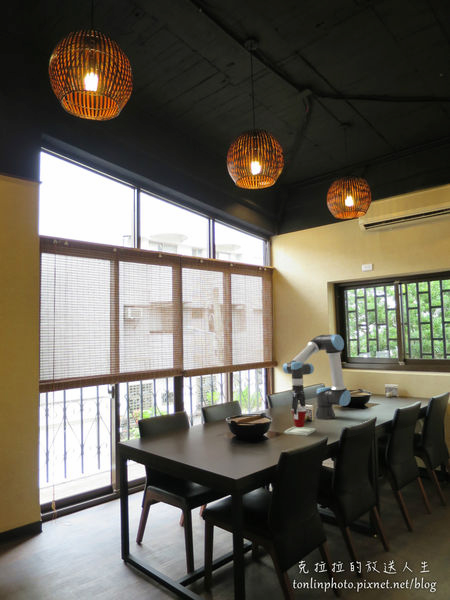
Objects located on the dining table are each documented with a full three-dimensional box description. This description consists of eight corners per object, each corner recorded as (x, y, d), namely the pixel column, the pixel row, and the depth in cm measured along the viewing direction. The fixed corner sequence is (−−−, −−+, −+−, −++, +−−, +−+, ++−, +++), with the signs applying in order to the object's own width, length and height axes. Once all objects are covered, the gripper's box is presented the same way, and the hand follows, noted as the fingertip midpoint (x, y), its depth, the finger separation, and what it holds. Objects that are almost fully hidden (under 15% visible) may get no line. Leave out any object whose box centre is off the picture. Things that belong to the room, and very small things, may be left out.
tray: (293, 428, 297) (293, 426, 297) (315, 430, 288) (315, 428, 288) (284, 433, 283) (284, 431, 283) (307, 435, 275) (306, 433, 275)
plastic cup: (302, 429, 278) (301, 410, 279) (288, 427, 285) (287, 409, 286) (310, 426, 286) (310, 408, 287) (297, 424, 293) (296, 406, 294)
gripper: (299, 382, 300) (300, 414, 298) (285, 386, 280) (287, 420, 278) (309, 382, 296) (310, 414, 294) (296, 386, 276) (298, 421, 275)
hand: (299, 417), depth 286 cm, fingers closed on plastic cup, 11 cm apart
